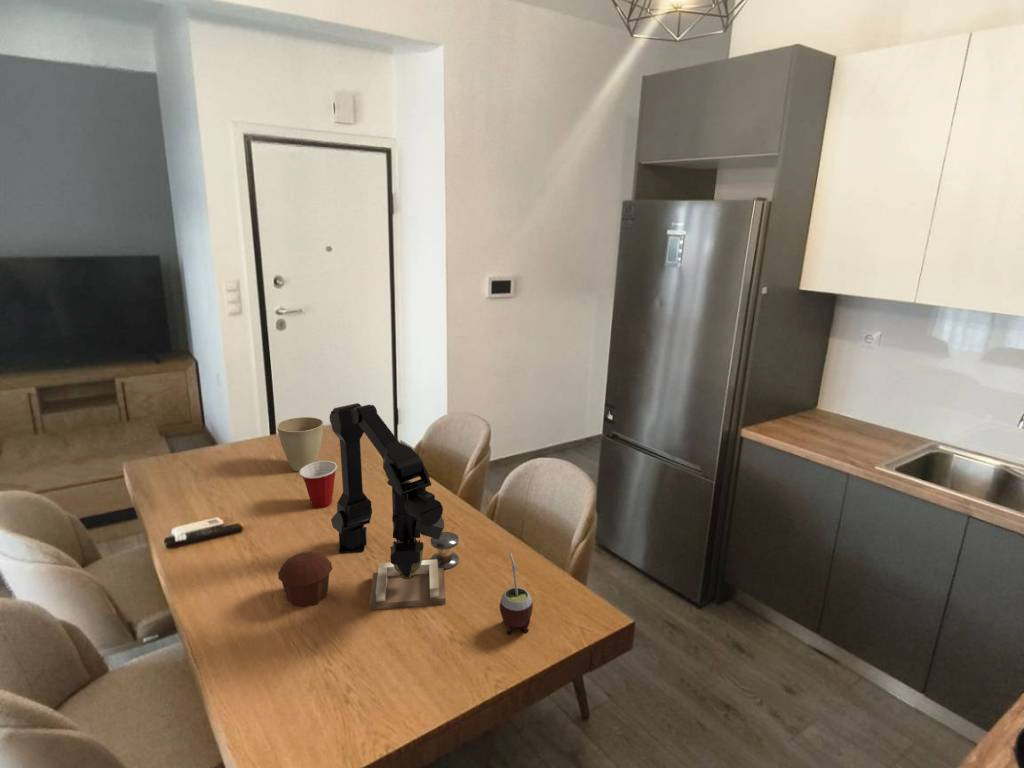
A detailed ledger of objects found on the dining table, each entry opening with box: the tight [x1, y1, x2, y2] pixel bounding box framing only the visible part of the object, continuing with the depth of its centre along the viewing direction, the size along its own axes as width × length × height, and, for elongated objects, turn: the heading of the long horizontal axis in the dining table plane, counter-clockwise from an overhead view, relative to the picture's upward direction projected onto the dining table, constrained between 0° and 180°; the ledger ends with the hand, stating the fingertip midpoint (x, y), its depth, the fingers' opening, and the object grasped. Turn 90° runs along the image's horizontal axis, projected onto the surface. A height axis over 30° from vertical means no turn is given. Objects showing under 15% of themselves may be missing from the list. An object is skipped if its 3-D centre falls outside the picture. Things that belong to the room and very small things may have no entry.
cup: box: [390, 538, 424, 579], centre depth 134 cm, size 8×7×8 cm
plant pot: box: [276, 416, 324, 472], centre depth 200 cm, size 15×15×16 cm
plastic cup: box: [298, 460, 338, 509], centre depth 176 cm, size 11×11×12 cm
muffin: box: [277, 551, 333, 608], centre depth 134 cm, size 12×11×10 cm
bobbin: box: [430, 531, 460, 570], centre depth 148 cm, size 7×7×6 cm
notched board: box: [368, 559, 447, 611], centre depth 137 cm, size 17×12×4 cm
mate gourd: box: [499, 551, 534, 636], centre depth 125 cm, size 8×8×15 cm
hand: (407, 568), depth 135 cm, fingers closed on cup, 6 cm apart
